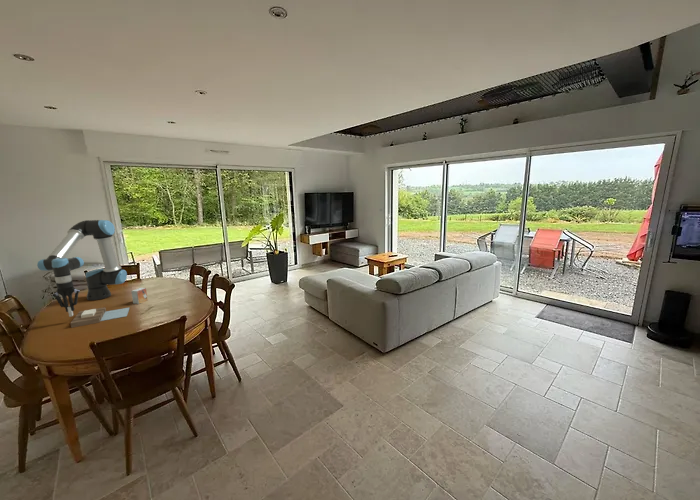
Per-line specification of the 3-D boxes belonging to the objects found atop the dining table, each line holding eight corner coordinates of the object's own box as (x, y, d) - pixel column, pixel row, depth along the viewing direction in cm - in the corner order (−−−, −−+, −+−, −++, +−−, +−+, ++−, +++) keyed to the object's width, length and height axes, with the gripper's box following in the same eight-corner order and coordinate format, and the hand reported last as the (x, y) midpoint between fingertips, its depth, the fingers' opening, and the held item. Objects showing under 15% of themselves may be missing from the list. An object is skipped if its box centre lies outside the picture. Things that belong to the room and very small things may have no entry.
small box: (138, 304, 219) (136, 291, 217) (133, 303, 220) (130, 290, 218) (148, 300, 227) (146, 287, 225) (142, 299, 228) (140, 287, 226)
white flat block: (84, 313, 195) (84, 310, 195) (96, 311, 198) (95, 308, 198) (81, 318, 188) (80, 315, 187) (93, 316, 191) (92, 313, 190)
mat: (105, 311, 205) (105, 311, 205) (129, 307, 212) (129, 307, 212) (100, 321, 190) (100, 320, 190) (126, 316, 197) (126, 315, 197)
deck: (80, 315, 199) (79, 311, 198) (106, 311, 206) (105, 307, 206) (71, 327, 181) (70, 323, 180) (99, 322, 188) (99, 318, 187)
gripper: (48, 285, 177) (55, 320, 182) (76, 281, 184) (83, 315, 188) (52, 282, 183) (59, 315, 188) (79, 278, 190) (85, 311, 195)
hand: (71, 315), depth 188 cm, fingers closed
